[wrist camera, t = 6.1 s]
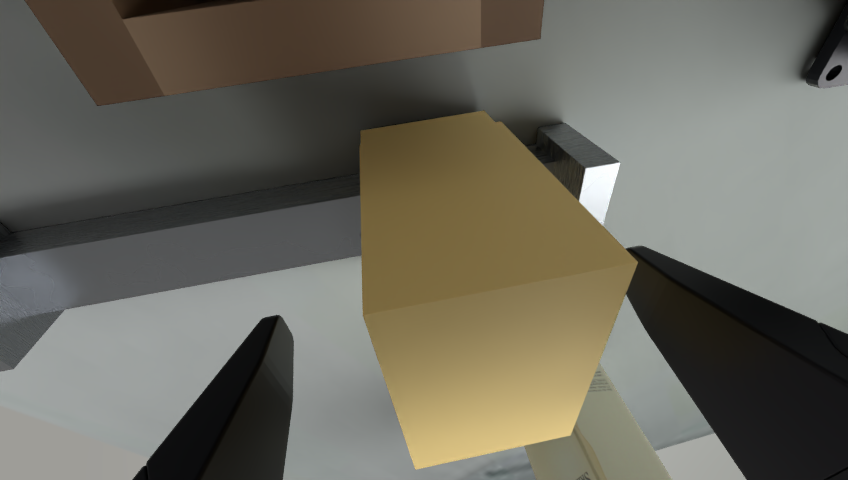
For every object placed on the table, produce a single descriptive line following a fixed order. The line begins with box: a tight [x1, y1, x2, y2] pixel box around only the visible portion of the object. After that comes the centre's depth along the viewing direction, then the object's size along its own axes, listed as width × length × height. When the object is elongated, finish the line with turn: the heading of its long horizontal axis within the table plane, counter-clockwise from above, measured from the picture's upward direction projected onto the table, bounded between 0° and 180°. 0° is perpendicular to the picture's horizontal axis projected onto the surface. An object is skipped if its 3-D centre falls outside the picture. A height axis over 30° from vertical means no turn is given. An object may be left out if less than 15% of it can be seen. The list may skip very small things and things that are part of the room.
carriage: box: [359, 111, 638, 470], centre depth 10 cm, size 4×6×8 cm, turn 6°
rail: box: [0, 123, 620, 371], centre depth 11 cm, size 20×4×3 cm, turn 96°
